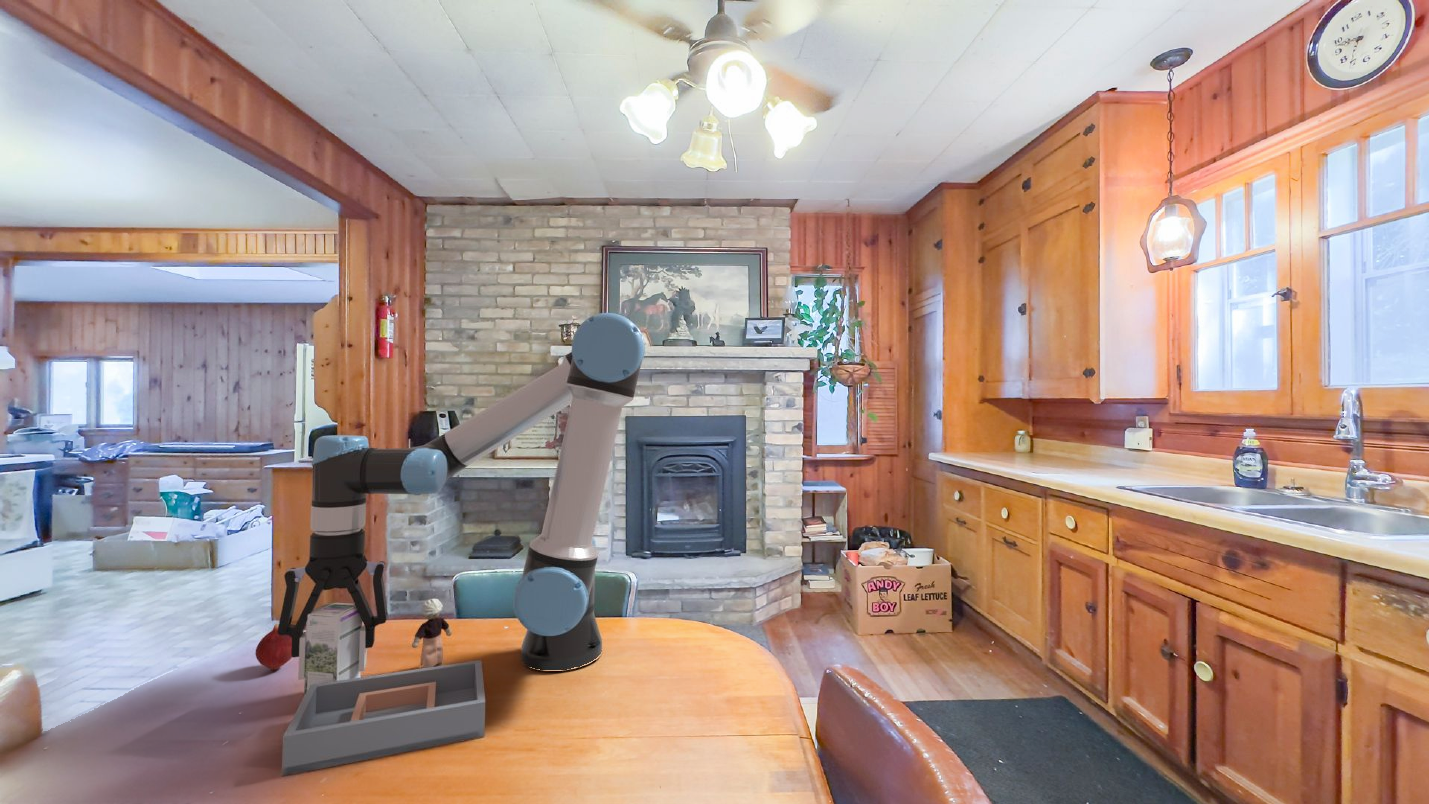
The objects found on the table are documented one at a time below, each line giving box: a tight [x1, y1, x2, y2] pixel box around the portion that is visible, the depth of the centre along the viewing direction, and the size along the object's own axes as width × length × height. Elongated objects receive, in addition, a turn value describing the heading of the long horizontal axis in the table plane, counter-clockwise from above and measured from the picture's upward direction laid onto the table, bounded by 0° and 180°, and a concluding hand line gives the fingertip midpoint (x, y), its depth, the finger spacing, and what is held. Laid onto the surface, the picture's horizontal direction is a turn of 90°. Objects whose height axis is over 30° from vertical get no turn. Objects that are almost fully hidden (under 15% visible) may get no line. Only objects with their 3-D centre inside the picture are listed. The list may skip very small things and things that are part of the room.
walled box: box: [281, 659, 486, 777], centre depth 85 cm, size 24×15×5 cm, turn 114°
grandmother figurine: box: [411, 598, 453, 669], centre depth 104 cm, size 8×4×13 cm, turn 164°
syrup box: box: [303, 602, 363, 697], centre depth 93 cm, size 6×6×14 cm
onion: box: [255, 623, 293, 671], centre depth 102 cm, size 6×6×8 cm
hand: (333, 671), depth 93 cm, fingers closed on syrup box, 7 cm apart
